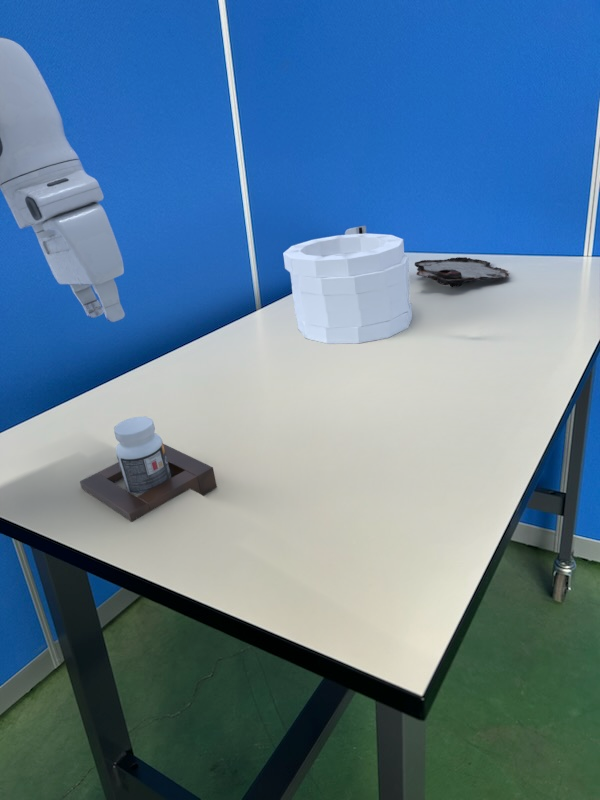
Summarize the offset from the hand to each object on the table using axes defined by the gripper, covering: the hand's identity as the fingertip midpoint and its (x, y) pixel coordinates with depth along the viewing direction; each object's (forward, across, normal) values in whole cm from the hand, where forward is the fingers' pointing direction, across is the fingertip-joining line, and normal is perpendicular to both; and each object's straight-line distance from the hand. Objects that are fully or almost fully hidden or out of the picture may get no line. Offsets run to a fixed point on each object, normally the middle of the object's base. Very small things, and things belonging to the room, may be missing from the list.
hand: (106, 317), depth 73 cm
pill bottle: (+22, 0, -4) cm, 23 cm away
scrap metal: (+30, -38, +90) cm, 103 cm away
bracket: (+25, -53, +72) cm, 93 cm away
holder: (+22, 0, -4) cm, 23 cm away
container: (+26, -32, +53) cm, 67 cm away
